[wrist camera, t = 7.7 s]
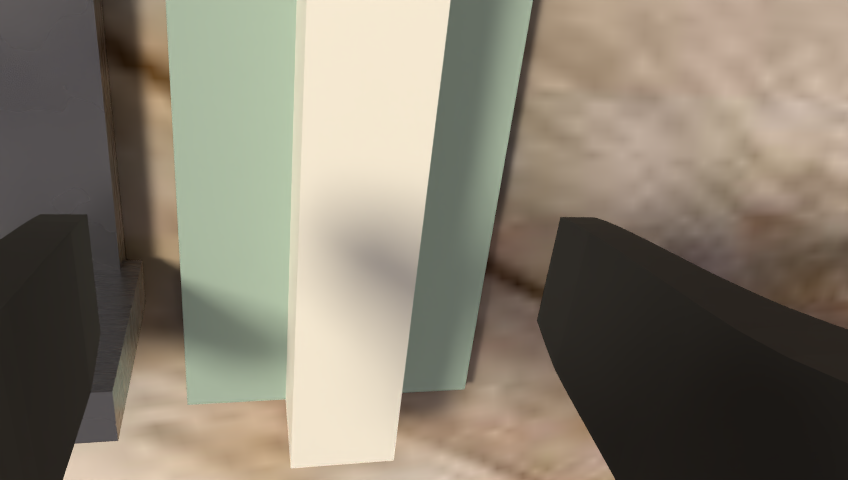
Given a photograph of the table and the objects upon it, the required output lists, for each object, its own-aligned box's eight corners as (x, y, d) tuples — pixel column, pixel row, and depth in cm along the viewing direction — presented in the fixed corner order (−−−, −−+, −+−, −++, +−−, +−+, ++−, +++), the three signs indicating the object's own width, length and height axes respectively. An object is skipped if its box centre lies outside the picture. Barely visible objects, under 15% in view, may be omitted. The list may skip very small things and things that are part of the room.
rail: (378, 393, 24) (393, 460, 22) (285, 398, 24) (290, 468, 21) (457, -375, 15) (501, -414, 12) (307, -404, 14) (321, -453, 12)
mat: (459, 377, 26) (464, 389, 25) (188, 391, 23) (187, 404, 23) (582, -341, 16) (593, -345, 16) (145, -426, 14) (141, -435, 13)
